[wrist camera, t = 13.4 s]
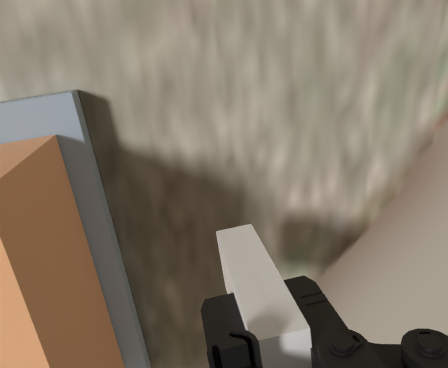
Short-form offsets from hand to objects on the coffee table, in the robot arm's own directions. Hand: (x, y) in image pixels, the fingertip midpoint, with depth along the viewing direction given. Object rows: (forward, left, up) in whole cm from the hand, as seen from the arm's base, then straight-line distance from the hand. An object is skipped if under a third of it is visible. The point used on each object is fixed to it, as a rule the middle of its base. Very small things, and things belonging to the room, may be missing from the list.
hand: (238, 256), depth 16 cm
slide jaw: (0, -8, -2) cm, 8 cm away
